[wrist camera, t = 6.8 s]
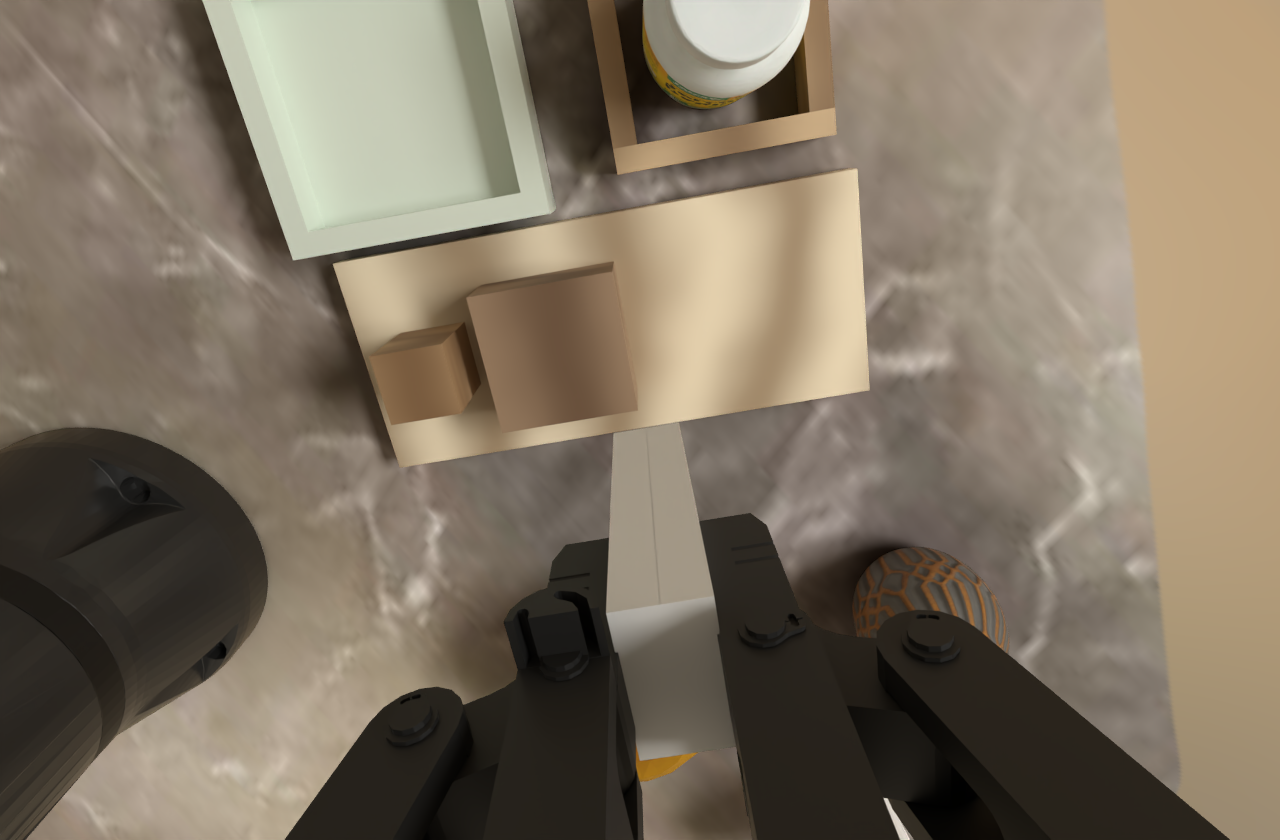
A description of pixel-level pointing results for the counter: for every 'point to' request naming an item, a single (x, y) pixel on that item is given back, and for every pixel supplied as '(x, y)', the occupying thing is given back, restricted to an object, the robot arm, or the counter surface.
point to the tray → (385, 116)
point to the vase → (926, 592)
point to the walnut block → (555, 347)
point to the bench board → (630, 312)
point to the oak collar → (808, 124)
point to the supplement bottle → (719, 46)
